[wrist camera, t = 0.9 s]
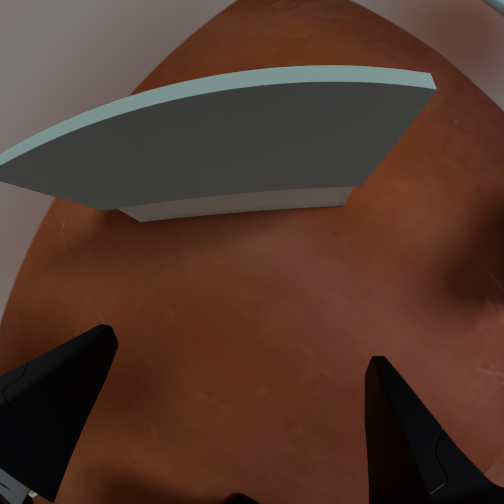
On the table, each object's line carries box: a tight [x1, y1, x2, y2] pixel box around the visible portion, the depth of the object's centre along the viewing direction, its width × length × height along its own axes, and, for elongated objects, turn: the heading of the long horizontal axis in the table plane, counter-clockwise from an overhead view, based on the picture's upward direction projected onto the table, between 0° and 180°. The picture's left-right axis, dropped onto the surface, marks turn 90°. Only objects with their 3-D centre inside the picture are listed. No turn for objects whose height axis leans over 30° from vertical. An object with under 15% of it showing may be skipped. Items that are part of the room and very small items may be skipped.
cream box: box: [119, 187, 353, 222], centre depth 23 cm, size 11×18×5 cm, turn 92°
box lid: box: [0, 65, 437, 211], centre depth 13 cm, size 11×18×1 cm
